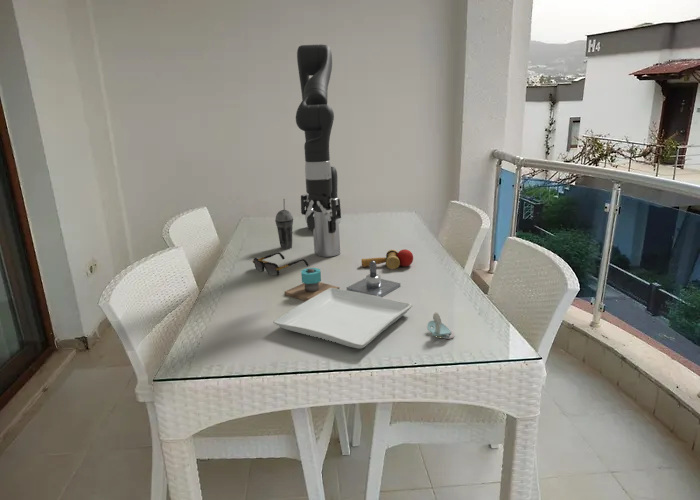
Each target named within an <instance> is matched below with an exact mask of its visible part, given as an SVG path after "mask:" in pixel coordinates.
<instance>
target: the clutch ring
mask: <svg viewBox="0 0 700 500" xmlns="http://www.w3.org/2000/svg"><path fill="white" fill-rule="evenodd" d="M311 268H312V269H314V273H308V271H307V270H308V269H311ZM300 273H301V274H300V275H301V283H302V284H303V283H306V284H314V283H318V282H321V281H322V275H321V274H322V272H321V268H316V267H307V268H304V269H301V272H300Z"/></svg>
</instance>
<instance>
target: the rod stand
mask: <svg viewBox="0 0 700 500" xmlns="http://www.w3.org/2000/svg"><path fill="white" fill-rule="evenodd" d="M310 268H311V269H308V270H307V271H308V273H314V269H312V268H313V267H310ZM329 288H336V289H340V287H339V286H336V285H332V284H328V283H324V282H321V281H320V282H318V283H314V284H306V283H302V284H299V285H297V286H295V287H291V288H289V289H287V290H285V291H284V295H285V296H287V297H291V298H295V299H297V300H301V301H304V302H306V301H307V300H309V299H311V298H313V297H314V296H316V295H318V294H320V293H322V292H324V291H325V290H327V289H329Z"/></svg>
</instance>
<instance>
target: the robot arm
mask: <svg viewBox="0 0 700 500" xmlns="http://www.w3.org/2000/svg"><path fill="white" fill-rule="evenodd" d="M296 61H297V68H298V69H297V70H298V75H299V77H298V78H299V83H300V90H301V99H302V100H301V102H300V104H299V106H298V107H297V110H296V113H295V123H296V125H297V127H298V129H299V130H301V131H304V138H305V142H304V147H303V148H304V161H305V165H304V174H305V175H304V176H305V190H306V194H302V195H300V213H301V215H302V216H303V215H304V216H305V215H306V217H307V223H306V224H307V229H308V230H309V231H310V230H312V232H313V247H314V249H313V251H314V254H316V256H319V257H325V258H327V257H329V258H330V257H335V256H338V255H340V254H341V240H340V239H341V236H340V224H339V218H341V219H342V209H341V199H340V198H339V197H338V170H337V168H336V167H335V166H332V165H331V160H330V159H331V157H330V138H331V132H332V129H333V124H334V120H335V113H334V110H333V108H332V107H331V105H329V104H328V88H329V83H330V80H331V74H332V71H333V55H332V49H331V47H330V46H329V45H327V44H303V45H299V46H298V47H297V51H296Z"/></svg>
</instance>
